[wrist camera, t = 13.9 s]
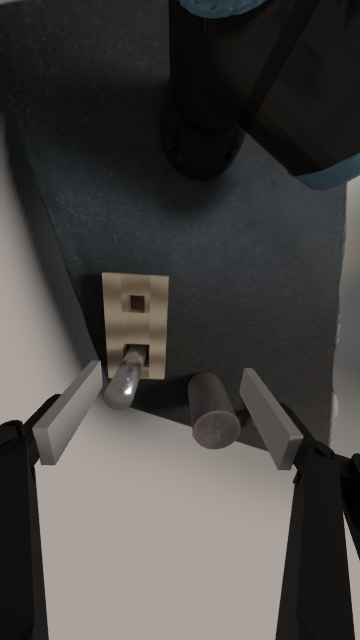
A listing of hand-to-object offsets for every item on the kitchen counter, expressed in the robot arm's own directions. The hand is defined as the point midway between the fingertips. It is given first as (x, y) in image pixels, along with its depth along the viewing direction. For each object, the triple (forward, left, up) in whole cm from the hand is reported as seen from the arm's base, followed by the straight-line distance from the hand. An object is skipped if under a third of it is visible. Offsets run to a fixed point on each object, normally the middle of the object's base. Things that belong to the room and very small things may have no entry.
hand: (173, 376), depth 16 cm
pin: (+8, -7, -25) cm, 27 cm away
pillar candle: (+21, +10, -26) cm, 35 cm away
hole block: (+3, -7, -26) cm, 27 cm away
